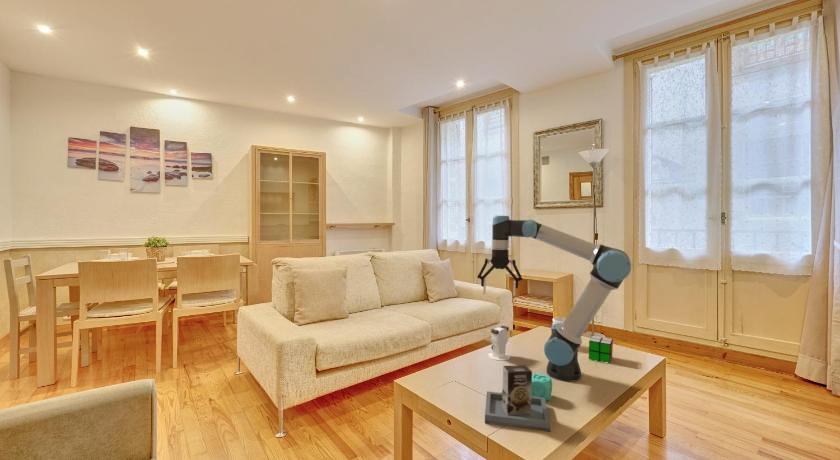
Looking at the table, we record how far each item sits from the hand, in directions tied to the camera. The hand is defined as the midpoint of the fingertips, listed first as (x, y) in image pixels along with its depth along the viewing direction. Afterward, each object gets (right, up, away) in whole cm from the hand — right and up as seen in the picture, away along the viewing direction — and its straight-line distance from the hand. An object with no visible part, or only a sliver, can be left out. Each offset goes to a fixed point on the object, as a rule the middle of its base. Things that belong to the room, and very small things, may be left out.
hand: (499, 294), depth 173 cm
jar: (+43, -36, +38) cm, 68 cm away
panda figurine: (+5, -36, +21) cm, 42 cm away
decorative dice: (+12, -38, -22) cm, 45 cm away
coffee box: (-1, -37, -35) cm, 51 cm away
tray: (-1, -38, -35) cm, 52 cm away
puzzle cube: (+57, -37, +20) cm, 71 cm away
